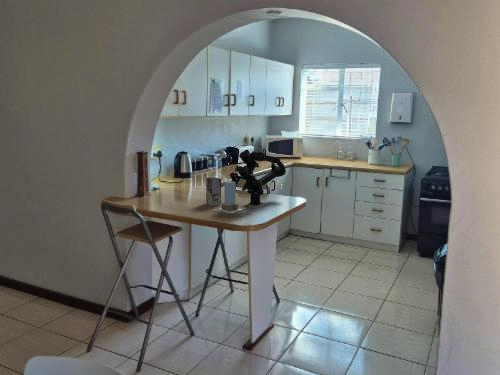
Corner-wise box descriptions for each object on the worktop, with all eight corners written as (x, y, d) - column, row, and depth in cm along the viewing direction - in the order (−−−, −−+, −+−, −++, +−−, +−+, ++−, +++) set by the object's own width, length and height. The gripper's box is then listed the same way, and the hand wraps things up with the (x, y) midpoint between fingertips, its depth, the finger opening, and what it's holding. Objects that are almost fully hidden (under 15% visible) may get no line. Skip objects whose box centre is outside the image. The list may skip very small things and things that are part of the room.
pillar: (229, 202, 263) (229, 180, 260) (235, 203, 260) (235, 181, 257) (224, 204, 260) (224, 181, 257) (230, 205, 257) (230, 182, 254)
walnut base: (230, 205, 270) (230, 200, 270) (246, 208, 264) (246, 202, 263) (213, 211, 257) (213, 205, 257) (230, 214, 251) (230, 208, 250)
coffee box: (221, 205, 272) (221, 178, 269) (212, 206, 269) (212, 179, 266) (215, 202, 280) (214, 176, 277) (205, 203, 277) (205, 177, 274)
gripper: (231, 158, 269) (218, 179, 263) (254, 161, 257) (241, 183, 251) (240, 170, 276) (227, 190, 270) (263, 173, 264) (250, 195, 258)
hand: (236, 189), depth 262 cm, fingers open, 9 cm apart
